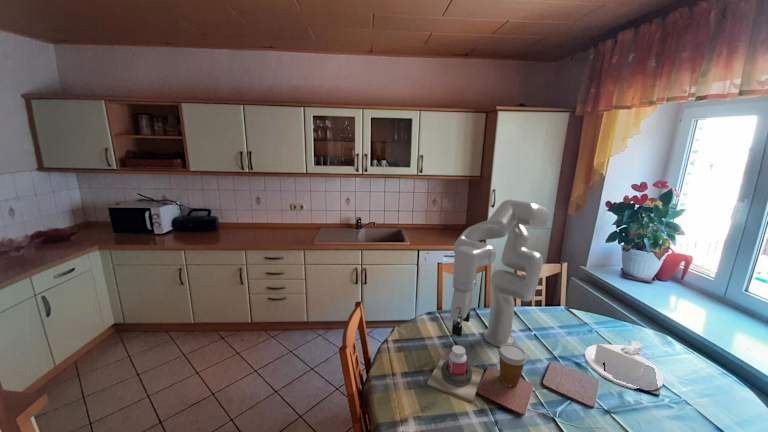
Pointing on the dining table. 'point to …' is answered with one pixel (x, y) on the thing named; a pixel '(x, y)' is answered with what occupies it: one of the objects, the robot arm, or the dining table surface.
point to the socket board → (453, 390)
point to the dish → (619, 361)
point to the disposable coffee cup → (511, 363)
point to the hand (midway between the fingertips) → (460, 327)
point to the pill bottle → (457, 361)
